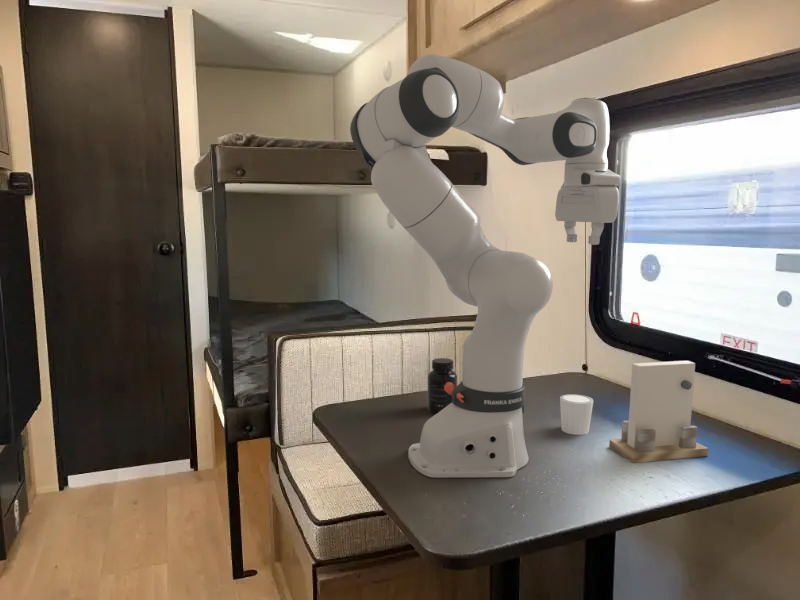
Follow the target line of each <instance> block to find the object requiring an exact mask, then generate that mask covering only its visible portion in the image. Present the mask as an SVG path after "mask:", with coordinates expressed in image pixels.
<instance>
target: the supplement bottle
mask: <svg viewBox="0 0 800 600" xmlns="http://www.w3.org/2000/svg"><path fill="white" fill-rule="evenodd" d="M431 369H432V370H430V371H429V373H428V375H427V410H428V411H429V412H430V413H431V414H434V415H436V414H437V413H438V412H440V411H441V410H442V409H444V408H445V407H446V406H448V405H449V404H450V403H452V395H450V394H448V393H447V392H446V391H445V390H444V389H445V388H444V387H445V386H444V385H446V383H448V382H451V383H453V385H455V386H457V385H458V375H457V373H456V372H455V371H454V360H453V359H452V358H445V357H443V358H442V357H438V358H434V359H432V361H431Z"/></svg>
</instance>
